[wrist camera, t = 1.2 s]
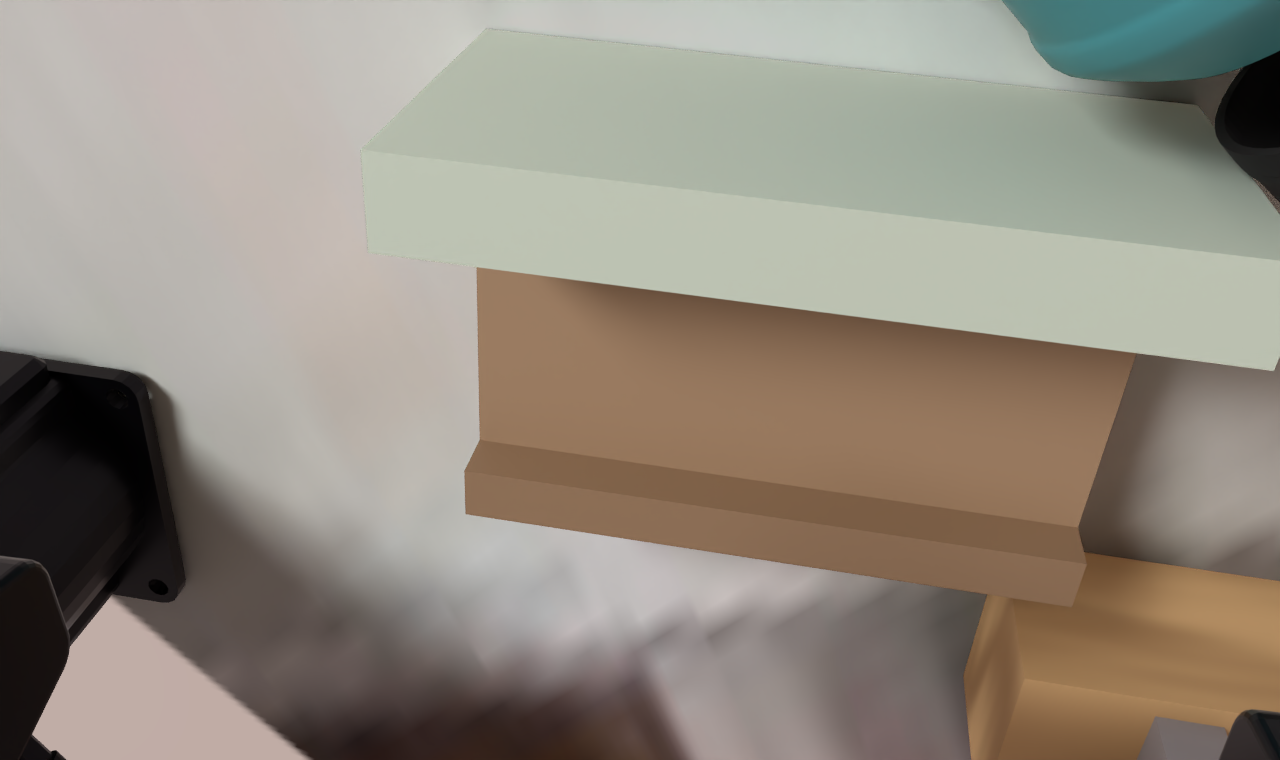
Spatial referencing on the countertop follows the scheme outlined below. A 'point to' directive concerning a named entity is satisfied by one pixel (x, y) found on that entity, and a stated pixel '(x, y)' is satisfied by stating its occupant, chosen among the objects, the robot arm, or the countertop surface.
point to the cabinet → (1124, 665)
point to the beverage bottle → (1176, 58)
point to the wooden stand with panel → (816, 297)
